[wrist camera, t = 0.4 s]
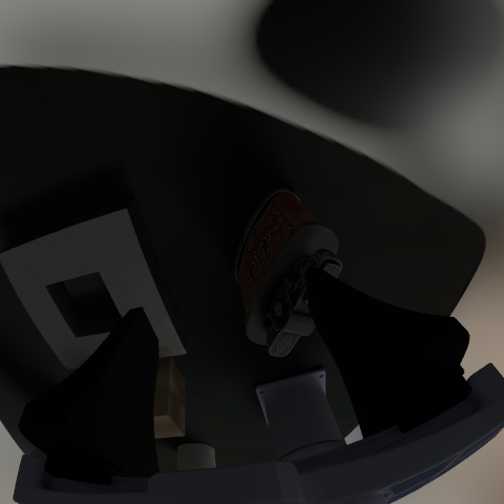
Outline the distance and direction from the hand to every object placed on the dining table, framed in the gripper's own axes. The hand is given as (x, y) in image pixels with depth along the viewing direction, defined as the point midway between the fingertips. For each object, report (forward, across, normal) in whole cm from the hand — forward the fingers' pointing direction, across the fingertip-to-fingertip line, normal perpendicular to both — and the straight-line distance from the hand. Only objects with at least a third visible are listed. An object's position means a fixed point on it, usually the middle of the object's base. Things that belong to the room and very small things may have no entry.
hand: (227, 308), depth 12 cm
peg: (+10, +10, +14) cm, 20 cm away
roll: (+10, +12, +34) cm, 38 cm away
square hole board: (+10, +12, +3) cm, 16 cm away
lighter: (+10, -3, +2) cm, 11 cm away
